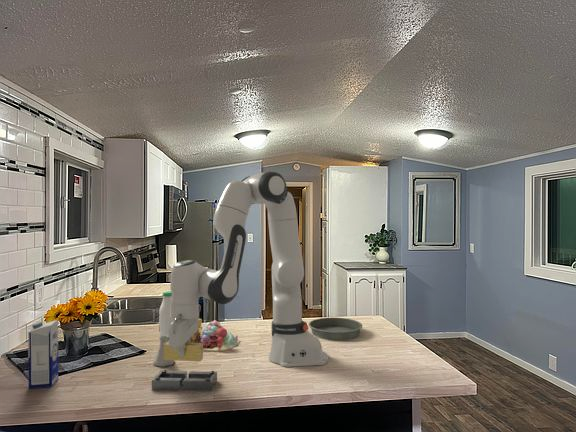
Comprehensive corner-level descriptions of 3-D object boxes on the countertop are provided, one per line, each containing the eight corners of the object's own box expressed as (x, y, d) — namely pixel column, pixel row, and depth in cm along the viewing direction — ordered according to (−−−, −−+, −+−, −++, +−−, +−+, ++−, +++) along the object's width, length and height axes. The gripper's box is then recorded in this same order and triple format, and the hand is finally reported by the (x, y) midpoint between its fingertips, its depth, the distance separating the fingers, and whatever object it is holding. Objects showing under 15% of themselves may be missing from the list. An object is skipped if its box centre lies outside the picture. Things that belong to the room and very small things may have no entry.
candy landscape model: (171, 350, 176) (170, 327, 176) (193, 334, 199) (193, 314, 199) (230, 353, 172) (230, 330, 171) (246, 336, 195) (246, 316, 195)
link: (187, 380, 144) (187, 370, 144) (179, 390, 136) (179, 379, 136) (160, 379, 144) (160, 369, 144) (151, 389, 136) (151, 378, 136)
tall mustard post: (202, 358, 141) (202, 343, 141) (200, 361, 138) (200, 345, 138) (166, 357, 141) (166, 341, 141) (163, 359, 139) (163, 344, 139)
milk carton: (51, 386, 139) (51, 324, 138) (28, 388, 137) (27, 325, 137) (58, 378, 146) (57, 319, 145) (36, 380, 144) (35, 320, 144)
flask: (163, 368, 155) (163, 340, 154) (149, 364, 158) (149, 337, 158) (178, 362, 161) (178, 335, 161) (164, 359, 165) (164, 332, 164)
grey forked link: (217, 380, 143) (217, 370, 143) (211, 390, 135) (211, 380, 135) (190, 380, 144) (190, 370, 144) (183, 390, 136) (183, 379, 136)
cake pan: (298, 336, 195) (298, 326, 195) (323, 324, 216) (323, 315, 216) (349, 345, 182) (349, 334, 182) (370, 331, 203) (370, 321, 203)
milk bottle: (180, 335, 195) (180, 291, 195) (167, 340, 189) (167, 294, 188) (168, 333, 199) (168, 289, 199) (155, 337, 193) (155, 292, 193)
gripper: (184, 319, 129) (183, 365, 129) (202, 304, 149) (201, 344, 150) (163, 318, 129) (162, 365, 129) (184, 304, 150) (183, 344, 150)
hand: (183, 354), depth 140 cm, fingers closed on tall mustard post, 3 cm apart
